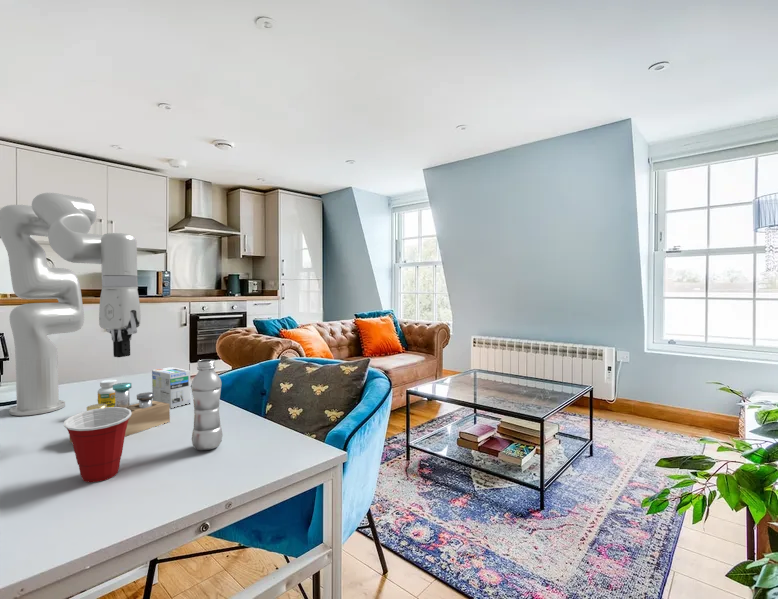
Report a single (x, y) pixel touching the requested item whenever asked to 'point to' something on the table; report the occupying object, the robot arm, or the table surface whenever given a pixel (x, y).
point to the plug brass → (96, 406)
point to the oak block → (146, 417)
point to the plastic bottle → (206, 406)
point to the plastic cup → (98, 441)
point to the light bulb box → (171, 386)
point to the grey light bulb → (145, 399)
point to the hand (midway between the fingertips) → (122, 356)
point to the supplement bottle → (107, 393)
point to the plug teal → (122, 395)
